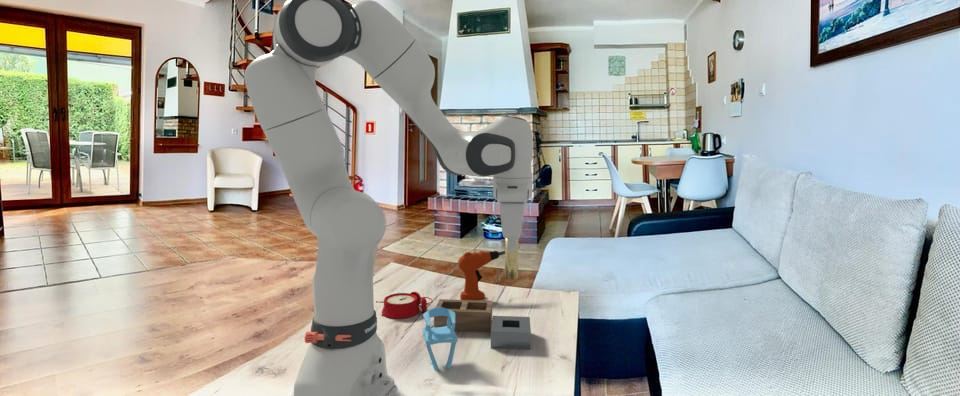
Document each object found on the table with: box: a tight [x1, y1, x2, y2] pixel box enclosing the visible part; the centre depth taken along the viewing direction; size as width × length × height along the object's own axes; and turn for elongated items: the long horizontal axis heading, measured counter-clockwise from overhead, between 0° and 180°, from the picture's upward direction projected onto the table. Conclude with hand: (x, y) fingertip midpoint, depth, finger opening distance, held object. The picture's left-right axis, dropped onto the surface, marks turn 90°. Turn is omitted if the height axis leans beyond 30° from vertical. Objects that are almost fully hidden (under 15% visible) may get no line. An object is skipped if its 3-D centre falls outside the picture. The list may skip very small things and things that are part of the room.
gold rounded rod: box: [504, 238, 520, 280], centre depth 103 cm, size 3×3×10 cm
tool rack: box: [433, 298, 493, 333], centre depth 114 cm, size 8×14×6 cm, turn 85°
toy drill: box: [457, 250, 505, 301], centre depth 137 cm, size 5×19×15 cm, turn 115°
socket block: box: [490, 315, 532, 351], centre depth 106 cm, size 9×9×5 cm
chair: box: [422, 306, 458, 371], centre depth 95 cm, size 8×8×12 cm
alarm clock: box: [375, 291, 434, 319], centre depth 126 cm, size 10×6×15 cm
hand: (511, 249), depth 103 cm, fingers closed on gold rounded rod, 3 cm apart
